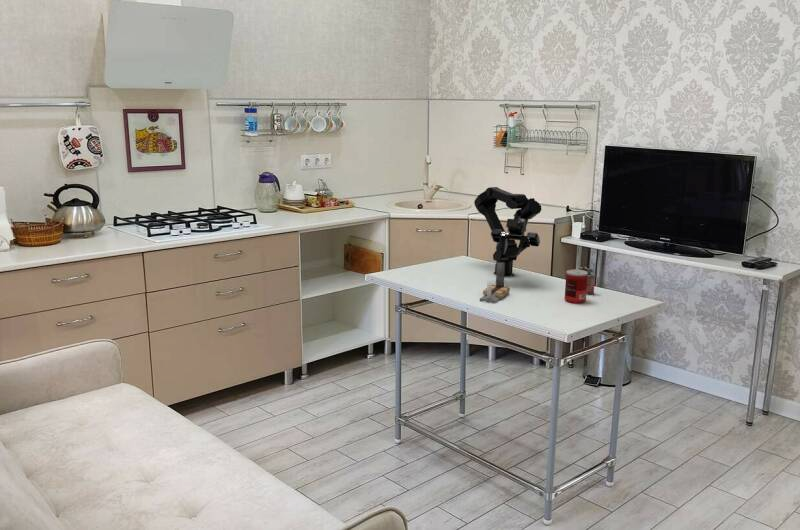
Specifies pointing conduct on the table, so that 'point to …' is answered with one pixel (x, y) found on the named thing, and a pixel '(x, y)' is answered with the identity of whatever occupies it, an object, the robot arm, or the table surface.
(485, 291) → the wooden base with post
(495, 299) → the rail
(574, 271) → the canned food
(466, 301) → the table surface
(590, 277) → the lighter
